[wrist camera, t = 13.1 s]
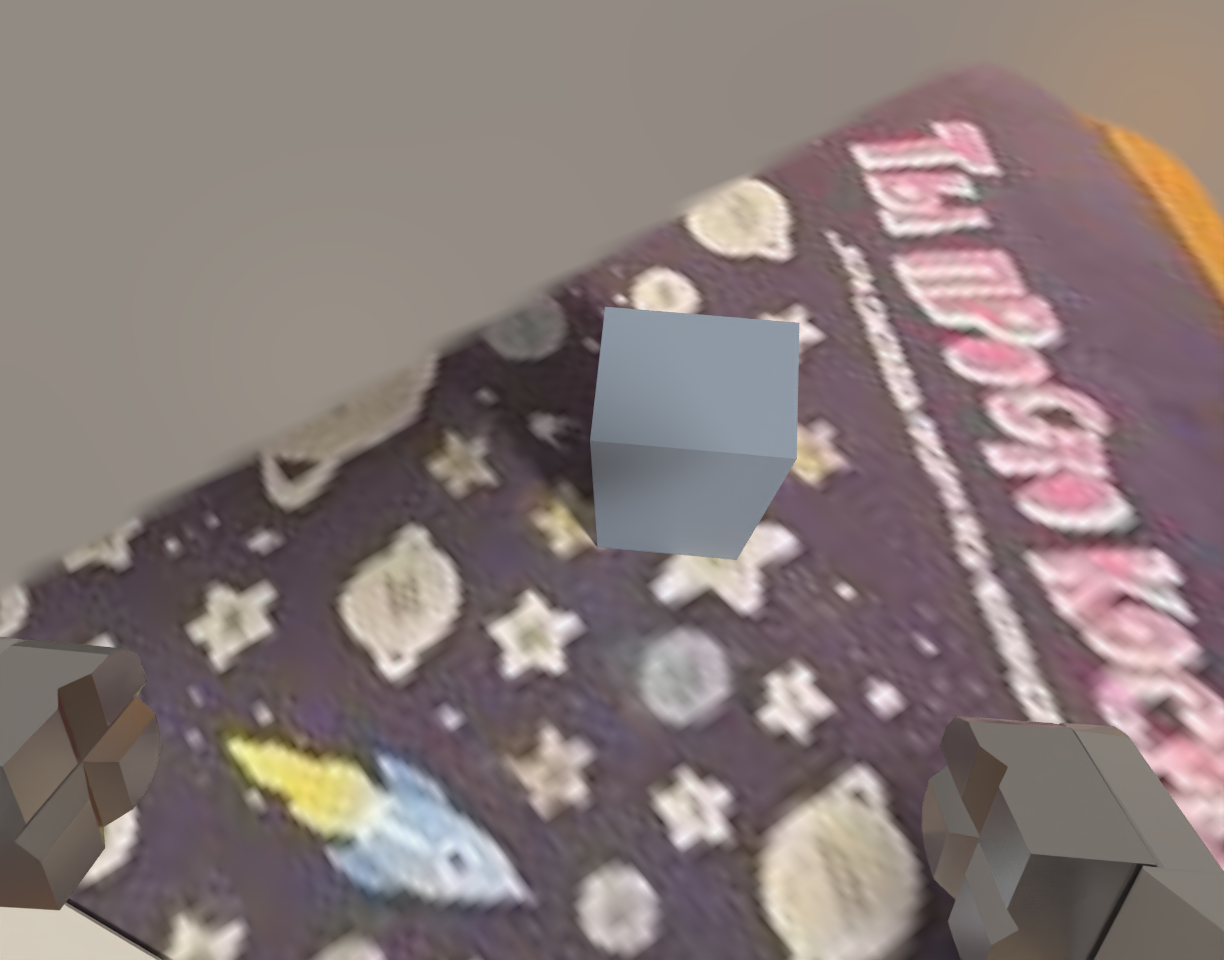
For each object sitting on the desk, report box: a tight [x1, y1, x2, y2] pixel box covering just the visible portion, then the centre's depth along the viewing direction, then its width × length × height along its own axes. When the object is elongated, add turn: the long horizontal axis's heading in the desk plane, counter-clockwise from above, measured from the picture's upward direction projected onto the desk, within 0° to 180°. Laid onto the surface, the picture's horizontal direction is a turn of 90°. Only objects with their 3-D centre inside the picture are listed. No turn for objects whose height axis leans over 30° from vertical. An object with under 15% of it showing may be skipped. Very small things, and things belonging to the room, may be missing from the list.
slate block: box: [590, 307, 799, 560], centre depth 20 cm, size 3×4×8 cm
